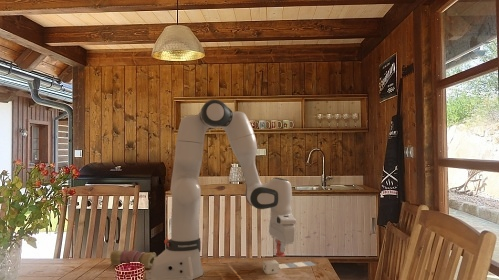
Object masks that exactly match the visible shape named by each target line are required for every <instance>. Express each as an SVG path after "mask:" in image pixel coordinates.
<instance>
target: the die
mask: <svg viewBox="0 0 499 280" xmlns="http://www.w3.org/2000/svg"><path fill="white" fill-rule="evenodd" d="M279 264H280V263H279V262H278V261H277V260H276V259H268V260H267V259H266V260H262V271H263V273H265V274H266V275H273V274H275V275H276V274H279V273H280V268H279Z"/></svg>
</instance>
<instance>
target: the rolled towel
mask: <svg viewBox="0 0 499 280" xmlns="http://www.w3.org/2000/svg"><path fill="white" fill-rule="evenodd" d="M109 255H110V257H109V259H110V263H111V265H115V266H116V265H121V264H122V263H130V262H140V263H142V264H144V267H146V268H150V269H151V268H152V263H153V261H154V259H155V258H156V257H157V253H156V252H154V251H153V252H145V251H138V250H120V249H114V250H112V252H110V254H109Z"/></svg>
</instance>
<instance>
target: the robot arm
mask: <svg viewBox="0 0 499 280" xmlns="http://www.w3.org/2000/svg"><path fill="white" fill-rule="evenodd" d="M218 128H220V129H223V130H224V132H225V133H226V136H227V140H228V143H229V145H230V148H231V150H232V152H233V155H234V157H235V158H236V160H237V162H238V164H239V165H240V169H241V171H242V175H243V178H244V181H245V185H246V187H245V188H246V189H245V199H246V202H247V203H248V204H249V205H250V206H252V207H254V208H255V209H258V210H267V209H270V219H269V227H268V233H269V236H271V237H272V238H274V242H275V249H276V250H277V240H279V241H280V243H281V247H280V251H281V252H284V253H285V252H286V246H287V245H292V244H294V242H295V234H296V233H295V232H296V229H295V225H296V224H297V220H296V218H295V217H294V215H293V212H292V211H293V210H292V201H293V190H292V188H293V187H292V184H291V182H290V180H288V179H285V178H280V177H273V178H272V179H270V180H269V181H267V182H265V183H262V182H261V179H260V176H259V173H258V169H257V165H256V156H257V152H258V143H257V139H256V135H255V132H254V129H253V127H252V125H251V122H250V120H249V117H248V116H247V114H246V113H245V112H243V111H238V110H237V111H232V110H231V108H230V107H228V105H226V104H225V103H224V102H223V101H222V100H219V99H211V100H208V101H206V102H205V103H204V104H203V105H202V107H201V108H200V111H199V113H198V114H188V115H185V116H183V117H182V119H181V120H180V123H179V126H178V130H177V135H176V140H175V141H176V142H175V153H174V159H173V160H174V161H173V167H172V174H171V180H170V181H171V182H170V190H169V191H170V194H171V218H170V219H171V221H170V222H171V224H170V225H171V227H170V228H171V229H170V231H171V232H170V234H171V235H170V237H171V238H166V239H164V244H165V249H164V250H163V251H162V252H161V253H160V254H158V255H156V258H155V259H154V261H153V263H152V268H150V270H149V271H147V272H146V273H145V280H194V279H197V278H199V277H201V276H203V274H204V273H205V272H204V270H203V266H202V262H201V261H202V260H201V250H202V249H201V243H202V242H201V238H200V211H201V198H202V197H201V196H202V195H201V193H202V189H201V186H200V184H199V180H200V173H201V172H200V171H201V168H202V163H203V154H204V144H205V136H206V132H207V131H208V130H209V131H210V130H215V129H218Z"/></svg>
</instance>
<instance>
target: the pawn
mask: <svg viewBox="0 0 499 280" xmlns="http://www.w3.org/2000/svg"><path fill="white" fill-rule="evenodd" d="M280 247H281V243H280V241H279V240H277V249H276V253H275V257H277V258H283V257H286V254H285V252H281V251H280Z"/></svg>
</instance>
